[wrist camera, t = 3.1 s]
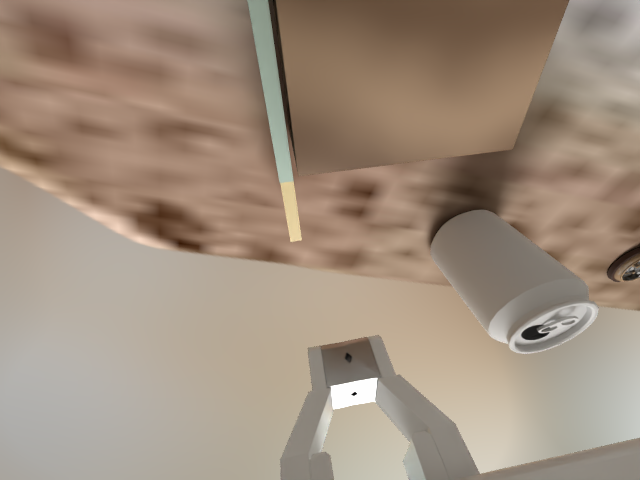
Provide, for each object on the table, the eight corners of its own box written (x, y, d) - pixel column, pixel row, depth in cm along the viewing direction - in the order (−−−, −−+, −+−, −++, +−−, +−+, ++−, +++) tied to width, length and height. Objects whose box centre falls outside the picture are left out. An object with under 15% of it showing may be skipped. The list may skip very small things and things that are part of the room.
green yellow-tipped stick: (219, -197, 11) (184, -355, 6) (239, -196, 11) (217, -355, 6) (287, 210, 22) (291, 248, 18) (297, 208, 22) (302, 247, 18)
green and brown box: (246, -198, 11) (220, -440, 6) (517, -204, 12) (726, -416, 6) (291, 139, 20) (298, 176, 14) (447, 121, 20) (512, 149, 15)
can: (412, 249, 28) (482, 352, 19) (464, 193, 25) (582, 284, 15) (456, 269, 31) (536, 366, 22) (508, 221, 28) (629, 312, 18)
